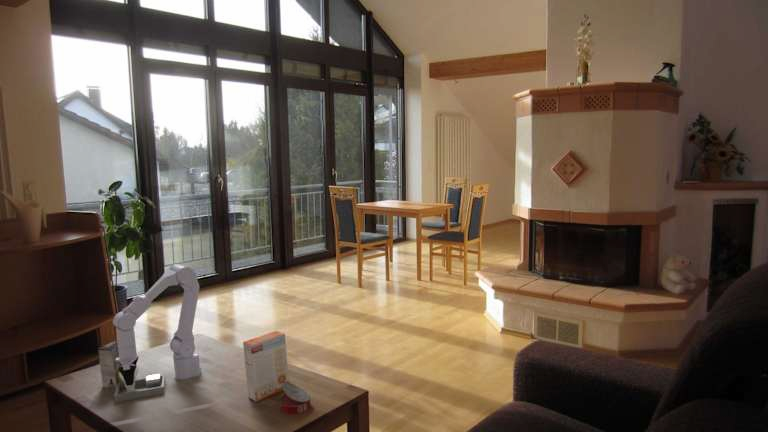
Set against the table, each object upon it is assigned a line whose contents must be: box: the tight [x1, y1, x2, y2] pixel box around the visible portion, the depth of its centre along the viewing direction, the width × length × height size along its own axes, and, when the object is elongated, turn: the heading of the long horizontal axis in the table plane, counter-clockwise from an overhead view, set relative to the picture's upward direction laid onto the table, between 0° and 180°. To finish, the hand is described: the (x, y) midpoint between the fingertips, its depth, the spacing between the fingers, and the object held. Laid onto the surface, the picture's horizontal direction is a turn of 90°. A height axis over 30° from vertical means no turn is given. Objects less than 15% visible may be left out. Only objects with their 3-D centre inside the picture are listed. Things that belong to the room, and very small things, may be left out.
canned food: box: [279, 381, 311, 415], centre depth 176 cm, size 11×10×10 cm
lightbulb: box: [119, 364, 139, 392], centre depth 188 cm, size 6×6×11 cm
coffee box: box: [97, 339, 124, 389], centre depth 198 cm, size 9×6×16 cm
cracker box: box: [242, 330, 290, 403], centre depth 186 cm, size 14×6×21 cm, turn 135°
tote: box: [113, 374, 166, 403], centre depth 190 cm, size 16×11×4 cm
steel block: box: [145, 373, 161, 389], centre depth 192 cm, size 4×4×4 cm
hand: (130, 381), depth 189 cm, fingers closed on lightbulb, 6 cm apart
